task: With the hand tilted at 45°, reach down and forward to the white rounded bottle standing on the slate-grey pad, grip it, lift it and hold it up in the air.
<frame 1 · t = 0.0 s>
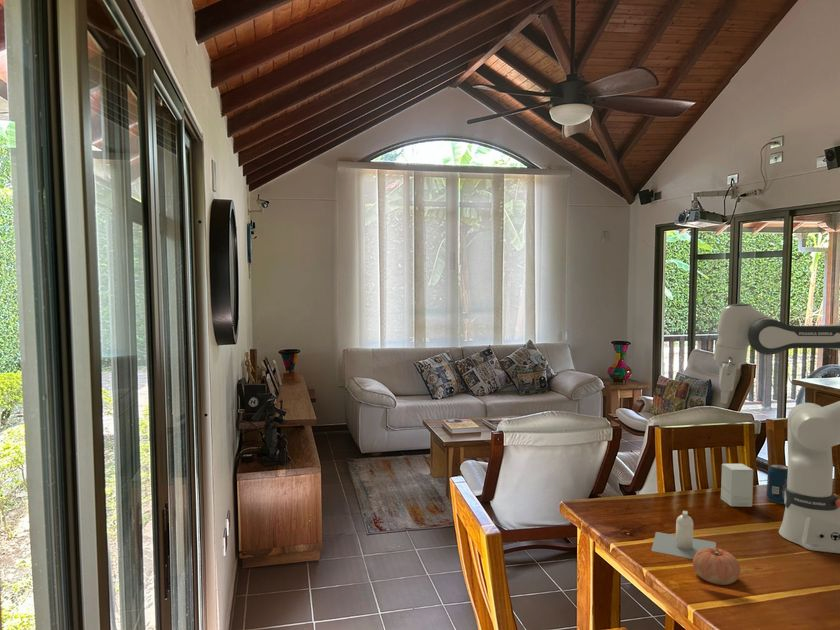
hand: (723, 400, 185), 39 cm above the table, tool pointing down, fingers open, 8 cm apart
white rounded bottle: (684, 546, 169), point 1 cm above the table, touching grey pad
soda can: (778, 501, 207), on the table
grey pad: (683, 550, 169), on the table
supplement box: (736, 503, 205), on the table
tomato: (715, 581, 152), on the table
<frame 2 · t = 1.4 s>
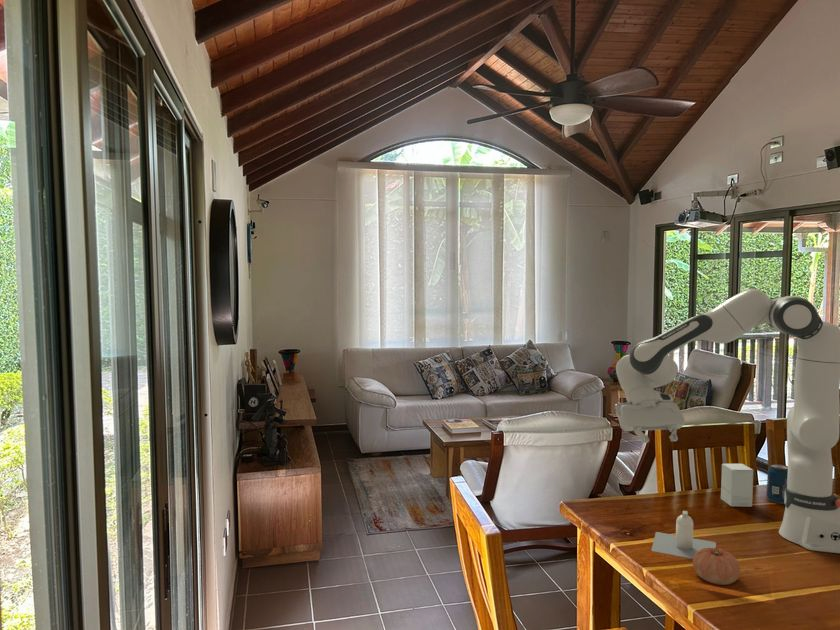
hand: (660, 441, 179), 28 cm above the table, tool tilted 45°, fingers open, 8 cm apart
nothing on the table moved.
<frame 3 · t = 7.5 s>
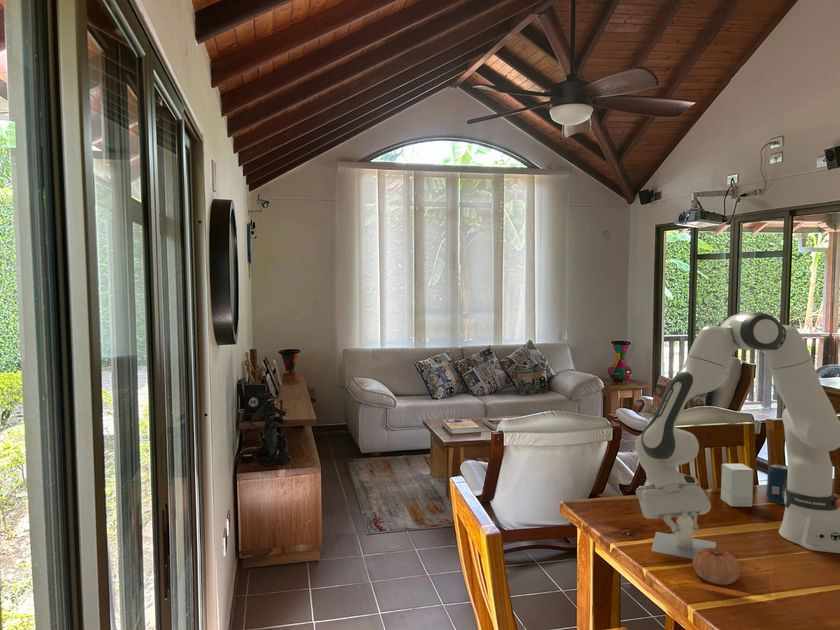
hand: (686, 530, 168), 6 cm above the table, tool tilted 45°, fingers closed on white rounded bottle, 4 cm apart
white rounded bottle: (684, 546, 169), point 1 cm above the table, touching grey pad, gripper
everything else where it was.
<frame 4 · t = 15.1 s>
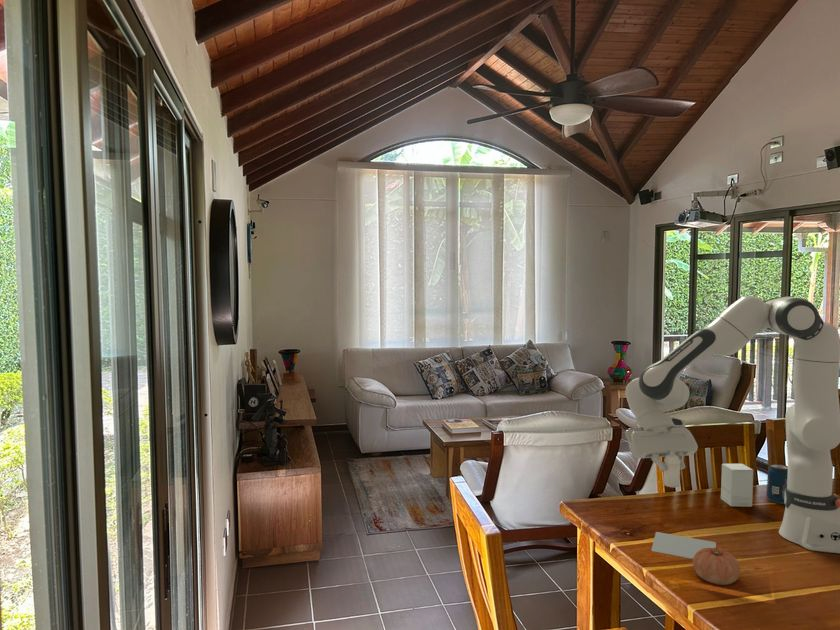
hand: (673, 468, 173), 21 cm above the table, tool tilted 45°, fingers closed on white rounded bottle, 4 cm apart
white rounded bottle: (671, 484, 174), point 16 cm above the table, touching gripper
everything else where it was.
at the end: the gripper is holding white rounded bottle; white rounded bottle inside the target area (0.0 cm from its centre), point 16.5 cm above the table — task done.
